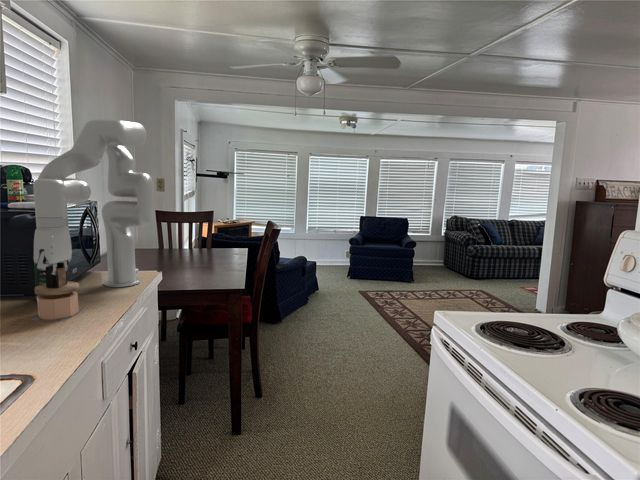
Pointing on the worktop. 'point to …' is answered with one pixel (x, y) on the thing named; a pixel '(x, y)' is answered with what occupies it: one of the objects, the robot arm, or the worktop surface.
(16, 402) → the worktop surface
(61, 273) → the lid
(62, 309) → the bowl
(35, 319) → the mat
